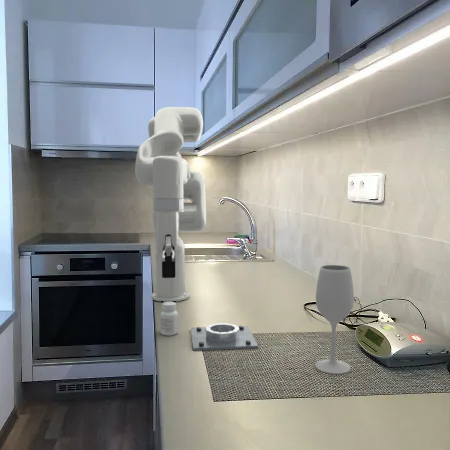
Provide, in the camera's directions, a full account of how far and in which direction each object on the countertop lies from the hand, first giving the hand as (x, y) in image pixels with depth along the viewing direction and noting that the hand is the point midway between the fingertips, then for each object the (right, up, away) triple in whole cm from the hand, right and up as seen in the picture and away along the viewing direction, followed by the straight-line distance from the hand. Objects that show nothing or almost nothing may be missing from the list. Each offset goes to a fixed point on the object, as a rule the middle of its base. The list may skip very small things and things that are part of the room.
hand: (168, 273), depth 117 cm
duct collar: (+14, -16, -3) cm, 21 cm away
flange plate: (+14, -16, -3) cm, 21 cm away
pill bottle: (0, -15, +1) cm, 16 cm away
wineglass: (+37, -18, -20) cm, 45 cm away
